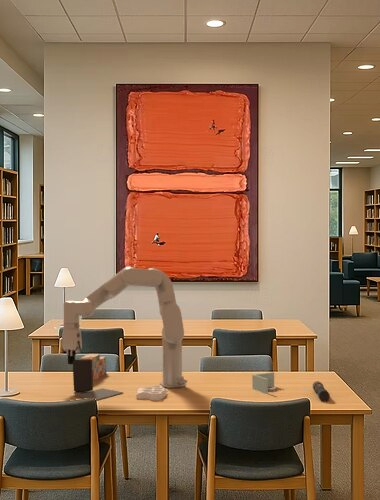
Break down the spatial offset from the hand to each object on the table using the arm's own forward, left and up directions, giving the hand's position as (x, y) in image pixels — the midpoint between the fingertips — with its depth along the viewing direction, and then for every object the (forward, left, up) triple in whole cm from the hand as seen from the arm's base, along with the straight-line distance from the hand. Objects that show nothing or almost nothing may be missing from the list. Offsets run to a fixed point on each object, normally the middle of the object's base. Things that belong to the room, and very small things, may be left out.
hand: (71, 363), depth 362 cm
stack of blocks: (+12, -26, -13) cm, 32 cm away
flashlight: (-103, -61, -13) cm, 120 cm away
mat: (-19, 0, -13) cm, 23 cm away
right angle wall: (-77, -57, -14) cm, 97 cm away
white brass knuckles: (-40, -14, -13) cm, 44 cm away
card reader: (-8, 0, -13) cm, 15 cm away
